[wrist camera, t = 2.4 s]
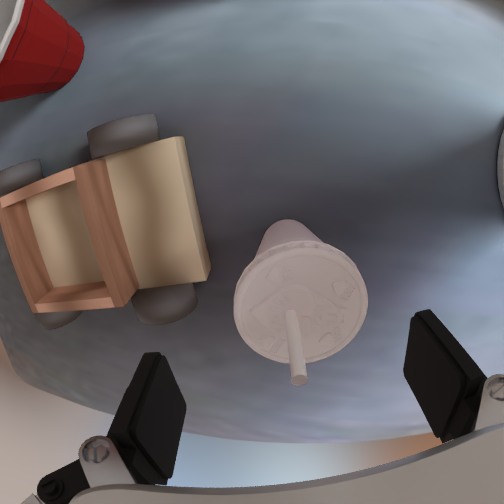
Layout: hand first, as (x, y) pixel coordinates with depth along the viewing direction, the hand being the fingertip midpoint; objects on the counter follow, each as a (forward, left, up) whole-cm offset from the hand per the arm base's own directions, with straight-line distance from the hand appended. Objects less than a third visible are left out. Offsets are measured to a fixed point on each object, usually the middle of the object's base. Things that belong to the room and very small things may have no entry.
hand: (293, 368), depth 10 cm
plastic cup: (+15, -19, -13) cm, 28 cm away
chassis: (+14, -4, -13) cm, 20 cm away
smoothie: (-1, 0, -13) cm, 13 cm away
